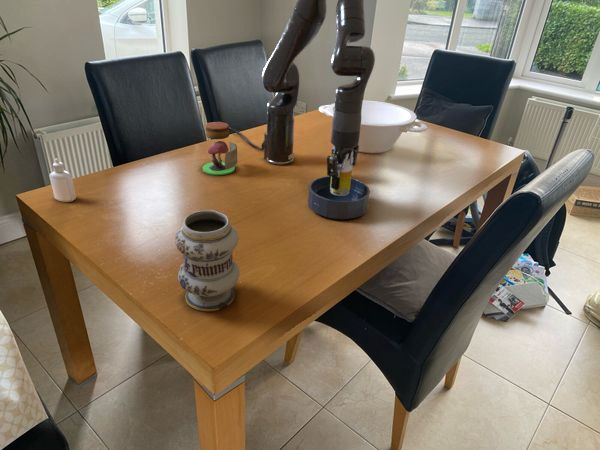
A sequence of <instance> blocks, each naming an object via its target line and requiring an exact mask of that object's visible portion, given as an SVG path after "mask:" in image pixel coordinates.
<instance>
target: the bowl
mask: <svg viewBox="0 0 600 450" xmlns="http://www.w3.org/2000/svg"><path fill="white" fill-rule="evenodd" d="M330 186H331V176H328V175H327V176H320V177H317V178H315V179H313V180H311V181H310V183H309V185H308V193H307V205H308V208H310V210H311V211H312V212H314V213H316V214H317V215H320V216H322V217H325V218H328V219H333V220H351V219H356V218H359V217H361V216H363V215H365V213H367V211H368V209H369V205H370V197H371V189H370V187H369V186H368V185H367V184H366V183H365V182H363V181H361V180H359V179H356V178H353V177H351V184H350V192H349V194H348V195H346V196H336V195H333V194H332V193H331V192H330Z"/></svg>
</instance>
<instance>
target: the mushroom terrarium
mask: <svg viewBox="0 0 600 450" xmlns="http://www.w3.org/2000/svg"><path fill="white" fill-rule="evenodd" d="M229 128H230V125H229V123H226V122H222V121H212V122H207V123H206V124H205V137H206V138H208V139H210V140H211V139H212V140H217V141H214V142H213V144H212V145H210V146H209V147H208V149H207V151H206V153H207V154H209V155H211V160H210V162H207V163H205V164H204V165H203V166H202V171H203V173H205V174H207V175H210V176H226V175H230V174H232V173H234V172H235V170H236V165H237V164H238V145H237V144H236V143H235V142H230V141H229V142H228V145H227V143H226V142H225V141H224V140H225V139H228V138H229V137H230V130H229ZM228 146H229V147H228ZM221 154H225V156H224V161H223V159H222V157H221ZM216 155H217V157H218V158H217V157H216Z"/></svg>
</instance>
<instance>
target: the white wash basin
mask: <svg viewBox="0 0 600 450" xmlns="http://www.w3.org/2000/svg"><path fill="white" fill-rule="evenodd" d="M334 109H335V102H334V103H331V104H325V105H321V106H319V107H318V111H319V112H320V113H321V114H325V115H326V117H332V118H333V114H334ZM417 118H418V117H417V114H416V113H415V112H414V111H413V110H410V109H409V108H407V107H404V106H401V105H398V104H394V103H390V102H384V101H377V100H364V99H363V102H362V110H361V128H360V136H359V144H358V145H359V149H358V153H363V154H382V153H386V152H388V151H390V150H392V148H393V146H395V143H396V142H397V140H398V139H399V138H400V136H401V135H402V134H403V133H405V134H406V133H408V132H409V133H423V132H426V131H427V130H428V126H427V124H425V123H423V122H420V121H417Z"/></svg>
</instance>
